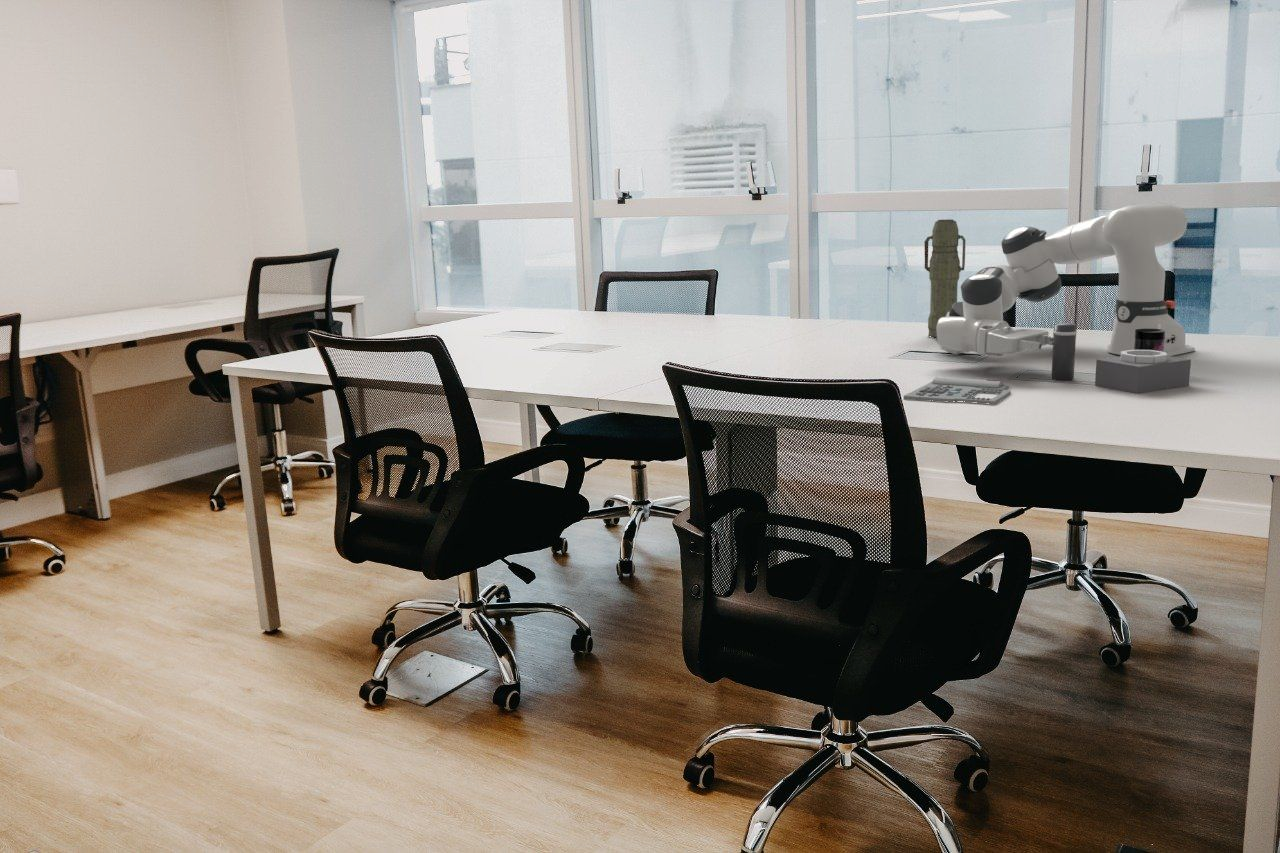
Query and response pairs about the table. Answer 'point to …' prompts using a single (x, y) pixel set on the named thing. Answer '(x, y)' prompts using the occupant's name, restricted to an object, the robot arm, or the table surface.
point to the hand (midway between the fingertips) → (1049, 344)
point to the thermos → (943, 270)
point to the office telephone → (959, 390)
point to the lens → (1063, 351)
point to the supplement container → (1149, 339)
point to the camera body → (1142, 371)
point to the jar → (954, 312)
